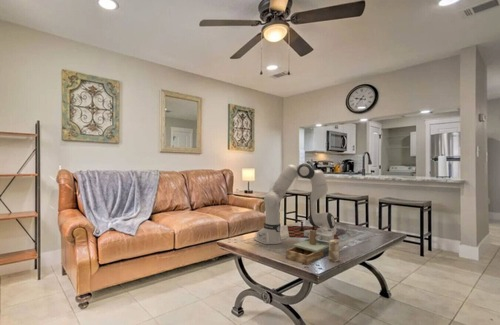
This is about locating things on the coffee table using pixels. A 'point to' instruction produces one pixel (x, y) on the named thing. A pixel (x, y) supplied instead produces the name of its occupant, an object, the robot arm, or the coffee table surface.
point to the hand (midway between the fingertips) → (312, 237)
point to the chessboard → (302, 231)
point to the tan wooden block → (333, 250)
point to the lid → (312, 243)
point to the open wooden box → (303, 255)
